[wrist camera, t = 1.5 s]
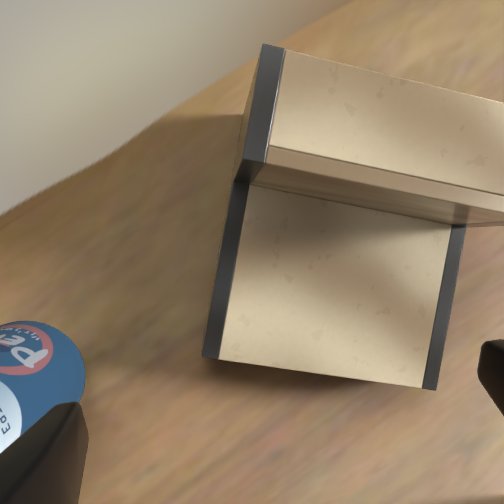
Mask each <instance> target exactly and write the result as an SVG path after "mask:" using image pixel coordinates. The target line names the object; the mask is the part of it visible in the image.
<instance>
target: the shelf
mask: <svg viewBox="0 0 504 504" xmlns="http://www.w3.org/2000/svg"><path fill="white" fill-rule="evenodd" d="M487 226H504V103H502V102H498V101H494V100H490V99H486V98H481V97H477V96H473V95H469V94H465V93H461V92H457V91H453V90H449V89H445V88H441V87H437V86H433V85H429V84H425V83H421V82H417V81H412V80H408V79H404V78H400V77H396V76H392V75H388V74H384V73H380V72H376V71H372V70H368V69H364V68H360V67H356V66H352V65H347V64H343V63H339V62H335V61H331V60H327V59H323V58H319V57H315V56H311V55H307V54H303V53H299V52H295V51H291V50H285V49H284V48H280V47H276V46H272V45H268V44H262V47H261V51H260V55H259V58H258V62H257V66H256V69H255V73H254V77H253V81H252V84H251V88H250V92H249V95H248V99H247V103H246V106H245V110H244V114H243V119H242V124H241V130H240V136H239V141H238V147H237V152H236V158H235V163H234V169H233V175H232V180H231V186H230V191H229V197H228V203H227V208H226V214H225V219H224V225H223V230H222V236H221V242H220V247H219V253H218V258H217V264H216V269H215V275H214V281H213V286H212V292H211V297H210V303H209V309H208V314H207V320H206V325H205V331H204V336H203V342H202V357H205V358H212V359H219V360H226V361H233V362H240V363H247V364H254V365H261V366H268V367H275V368H282V369H289V370H296V371H303V372H310V373H317V374H324V375H331V376H338V377H345V378H352V379H359V380H366V381H372V382H379V383H386V384H393V385H400V386H407V387H414V388H422V389H428V390H436V388H437V383H438V377H439V372H440V366H441V361H442V356H443V350H444V345H445V340H446V334H447V329H448V323H449V318H450V313H451V307H452V302H453V297H454V291H455V286H456V280H457V275H458V270H459V264H460V259H461V254H462V248H463V243H464V237H465V232H466V228H467V227H487Z"/></svg>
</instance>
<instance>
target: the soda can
mask: <svg viewBox="0 0 504 504" xmlns="http://www.w3.org/2000/svg"><path fill="white" fill-rule="evenodd" d="M84 386H85V367H84V363H83V359H82V357H81V354H80V352H79V350H78V349H77V347H76V346H75V344H74V343H73V342H72V341H71V340H70V339H69V337H67V336H66V335H65V334H64V333H62V332H61V331H59V330H58V329H56V328H54V327H52V326H50V325H47V324H44V323H40V322H33V321H18V322H11V323H7V324H4V325H1V326H0V453H1V452H2V451H3V450H5V449H6V448H7V447H8V446H9V445H10V444H11V443H13V442H14V441H15V440H16V439H17V438H18V437H19V436H21V435H22V434H23V433H24V432H25V431H26V430H27V429H29V428H30V427H31V426H32V425H33V424H34V423H36V422H37V421H38V420H39V419H40V418H41V417H42V416H44V415H45V414H46V413H47V412H48V411H49V410H50V409H52V408H53V407H54V406H55V405H57V404H60V403H67V402H74V401H76V402H78V403H79V401H80V399H81V396H82V394H83V390H84Z"/></svg>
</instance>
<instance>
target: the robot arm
mask: <svg viewBox="0 0 504 504" xmlns="http://www.w3.org/2000/svg"><path fill="white" fill-rule="evenodd" d="M477 373H478V378H479V380H480V382H481V384H482V385H483V387H484V388H485V389H486V391H487V392H488V394H489V395H490V397H491V398H492V400H493V401H494V403H495V404H496V405H497V407H498V408H499V410H500V411H501V413H502V414H503V416H504V340H502V339H499V340H492V341H486V342H484V343H483V345H482V347H481V352H480V358H479V363H478V369H477ZM87 448H88V430H87V427H86V423H85V419H84V416H83V412H82V409H81V406H80V404H79V403H78V402H76V401H74V402H67V403H60V404H57V405H55V406H54V407H53V408H52V409H50V410H49V411H48V412H47V413H46V414H45V415H44V416H42V417H41V418H40V419H39V420H38V421H37V422H36V423H34V424H33V425H32V426H31V427H30V428H29V429H27V430H26V431H25V432H24V433H23V434H22V435H21V436H19V437H18V438H17V439H16V440H15V441H14V442H13V443H11V444H10V445H9V446H8V447H7V448H6V449H5V450H3V451H2V452H1V453H0V504H78V500H79V494H80V488H81V482H82V477H83V471H84V465H85V459H86V453H87Z"/></svg>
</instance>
